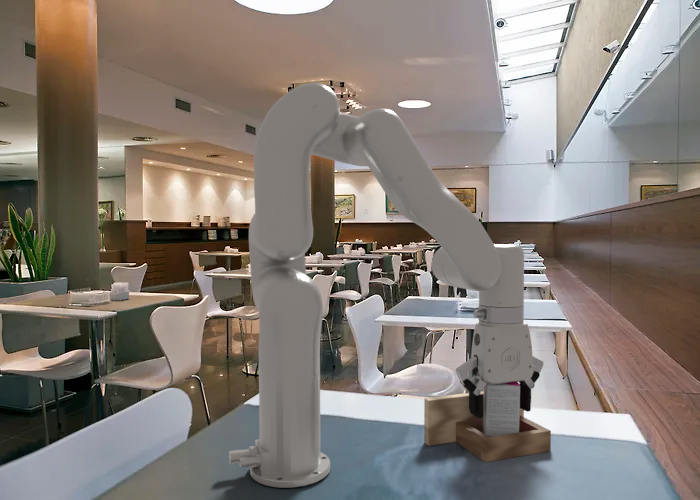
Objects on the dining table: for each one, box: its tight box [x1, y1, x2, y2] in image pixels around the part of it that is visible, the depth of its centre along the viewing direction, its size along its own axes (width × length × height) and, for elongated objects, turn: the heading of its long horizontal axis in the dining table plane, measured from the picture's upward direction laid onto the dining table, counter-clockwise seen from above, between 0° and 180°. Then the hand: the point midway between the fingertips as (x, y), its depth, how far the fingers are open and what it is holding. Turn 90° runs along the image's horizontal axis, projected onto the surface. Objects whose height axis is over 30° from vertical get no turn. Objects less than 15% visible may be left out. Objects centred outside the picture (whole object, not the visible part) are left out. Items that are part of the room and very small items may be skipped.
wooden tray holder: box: [423, 390, 552, 463], centre depth 96 cm, size 20×11×8 cm, turn 110°
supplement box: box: [483, 382, 520, 437], centre depth 96 cm, size 6×6×12 cm
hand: (500, 412), depth 96 cm, fingers open, 9 cm apart
